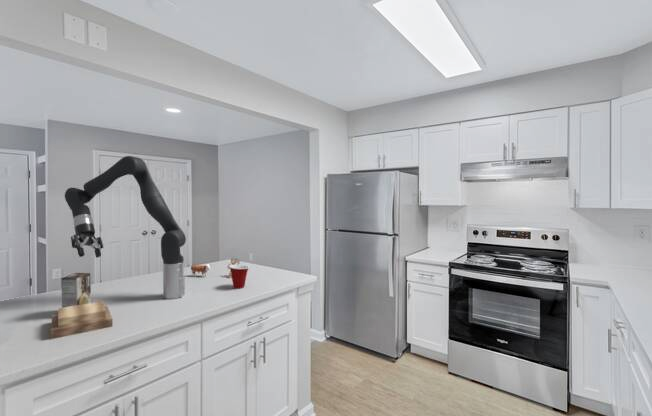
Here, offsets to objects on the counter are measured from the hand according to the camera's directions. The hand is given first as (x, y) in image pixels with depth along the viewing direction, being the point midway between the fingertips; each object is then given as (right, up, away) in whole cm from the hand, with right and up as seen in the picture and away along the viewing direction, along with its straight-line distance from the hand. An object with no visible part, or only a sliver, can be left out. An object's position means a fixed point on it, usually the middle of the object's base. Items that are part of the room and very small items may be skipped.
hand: (90, 256), depth 151 cm
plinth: (+16, -23, -27) cm, 39 cm away
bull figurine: (+33, -21, +50) cm, 63 cm away
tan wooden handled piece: (+53, -21, +51) cm, 77 cm away
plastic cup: (+63, -22, +28) cm, 72 cm away
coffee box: (+4, -22, -14) cm, 26 cm away
